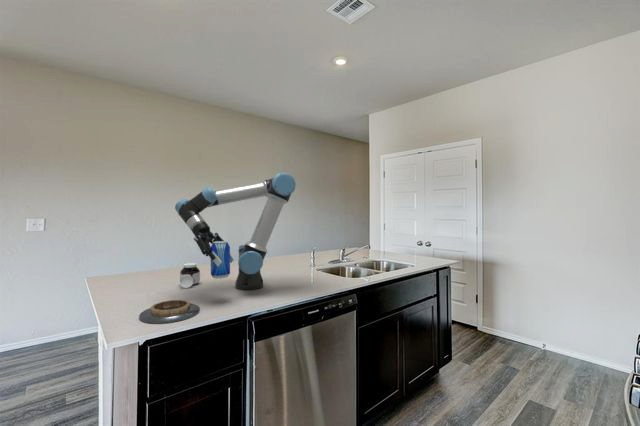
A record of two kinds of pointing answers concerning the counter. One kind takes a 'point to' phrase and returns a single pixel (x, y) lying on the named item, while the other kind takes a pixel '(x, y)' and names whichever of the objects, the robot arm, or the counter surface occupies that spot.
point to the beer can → (224, 255)
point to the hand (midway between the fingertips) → (226, 262)
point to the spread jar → (189, 275)
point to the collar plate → (168, 319)
